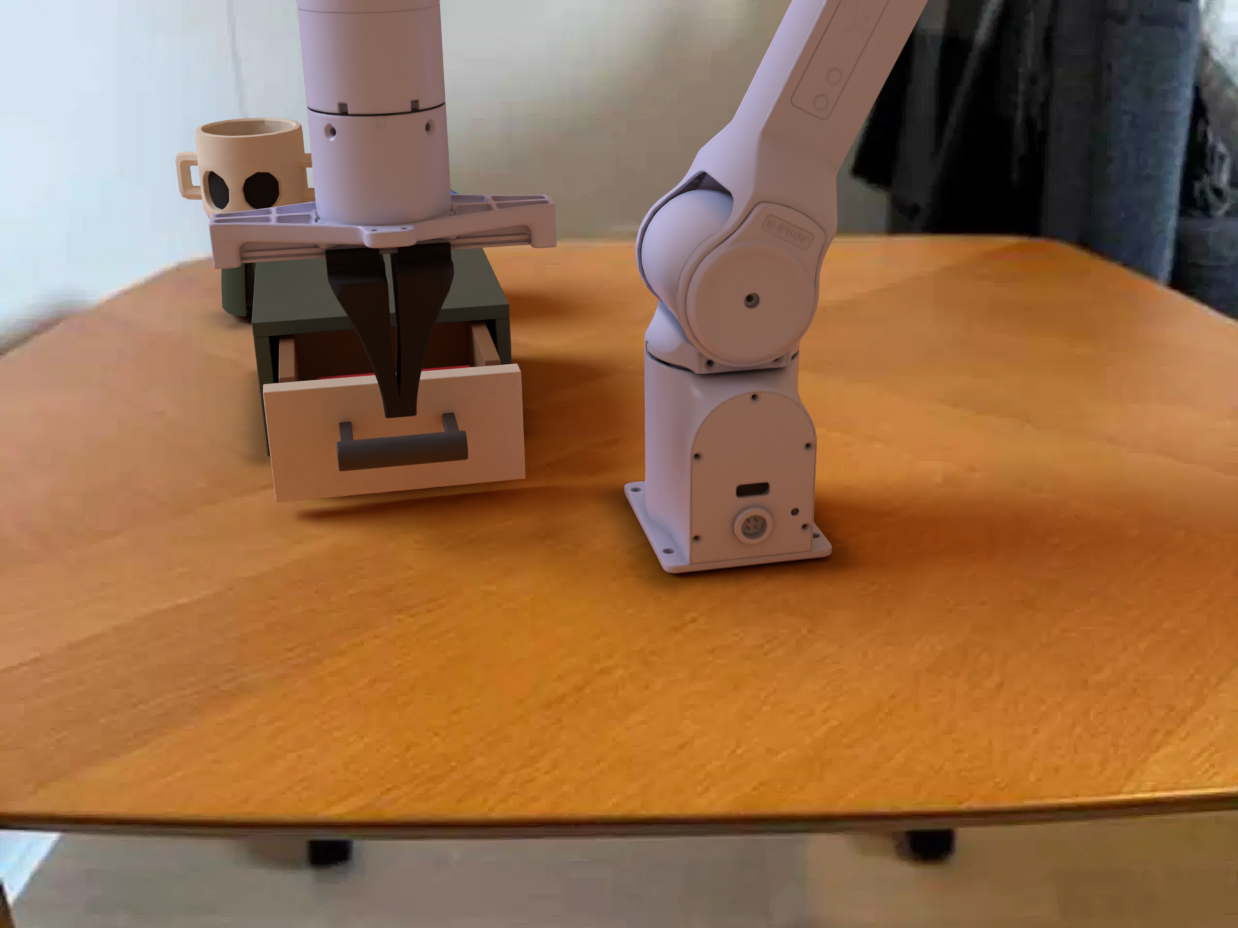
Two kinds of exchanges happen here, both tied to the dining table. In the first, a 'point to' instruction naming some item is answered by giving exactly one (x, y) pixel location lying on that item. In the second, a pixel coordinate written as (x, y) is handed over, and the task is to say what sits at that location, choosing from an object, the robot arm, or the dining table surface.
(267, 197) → the character mug
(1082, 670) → the dining table surface
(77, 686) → the dining table surface
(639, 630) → the dining table surface
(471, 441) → the drawer
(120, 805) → the dining table surface
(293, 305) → the cabinet
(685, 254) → the robot arm
